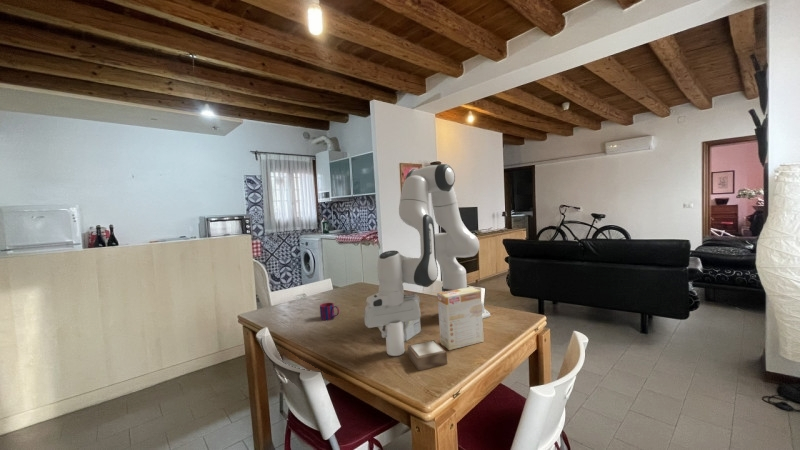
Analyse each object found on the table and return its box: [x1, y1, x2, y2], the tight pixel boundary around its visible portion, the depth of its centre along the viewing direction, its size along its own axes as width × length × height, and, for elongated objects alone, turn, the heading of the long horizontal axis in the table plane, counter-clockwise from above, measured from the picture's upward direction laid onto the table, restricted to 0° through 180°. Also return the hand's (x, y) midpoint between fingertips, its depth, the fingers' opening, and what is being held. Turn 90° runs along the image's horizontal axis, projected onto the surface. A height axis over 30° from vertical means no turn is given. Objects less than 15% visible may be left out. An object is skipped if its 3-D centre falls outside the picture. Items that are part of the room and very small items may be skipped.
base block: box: [407, 340, 448, 371], centre depth 103 cm, size 10×10×4 cm
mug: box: [319, 302, 340, 322], centre depth 151 cm, size 7×10×7 cm
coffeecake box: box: [437, 286, 485, 351], centre depth 115 cm, size 15×7×20 cm, turn 110°
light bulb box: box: [403, 317, 422, 342], centre depth 125 cm, size 11×7×11 cm, turn 145°
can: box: [384, 321, 406, 357], centre depth 110 cm, size 6×6×12 cm
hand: (394, 335), depth 110 cm, fingers closed on can, 6 cm apart
